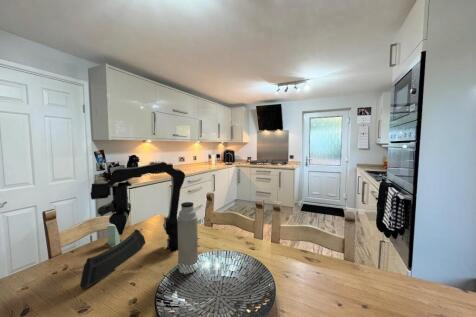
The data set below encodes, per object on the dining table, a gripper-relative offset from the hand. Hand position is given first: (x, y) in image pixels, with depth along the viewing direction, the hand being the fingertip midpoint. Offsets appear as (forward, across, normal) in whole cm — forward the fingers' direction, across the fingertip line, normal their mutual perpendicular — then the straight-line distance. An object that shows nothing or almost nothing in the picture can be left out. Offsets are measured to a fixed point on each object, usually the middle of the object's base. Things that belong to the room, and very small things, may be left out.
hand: (122, 230), depth 90 cm
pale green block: (+13, -15, -6) cm, 21 cm away
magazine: (+14, +5, -2) cm, 15 cm away
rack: (+13, -15, -6) cm, 21 cm away
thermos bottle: (+14, +18, +26) cm, 35 cm away
